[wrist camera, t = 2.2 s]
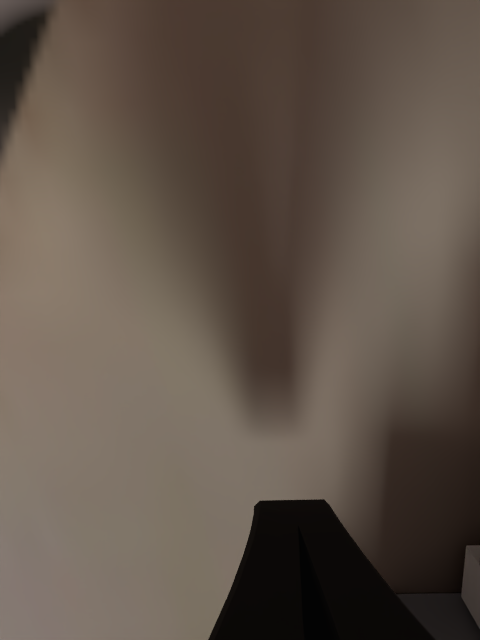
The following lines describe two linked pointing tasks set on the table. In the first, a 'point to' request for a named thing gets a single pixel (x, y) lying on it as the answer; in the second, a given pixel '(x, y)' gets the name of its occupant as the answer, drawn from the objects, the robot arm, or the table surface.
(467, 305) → the table surface
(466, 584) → the camera door
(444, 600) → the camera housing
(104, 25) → the table surface
